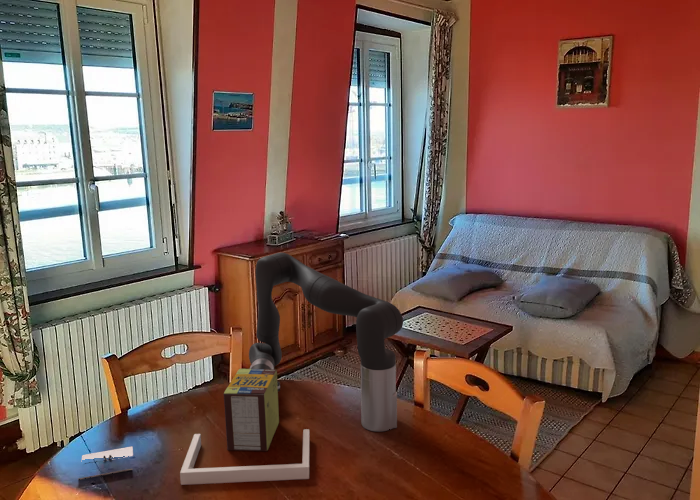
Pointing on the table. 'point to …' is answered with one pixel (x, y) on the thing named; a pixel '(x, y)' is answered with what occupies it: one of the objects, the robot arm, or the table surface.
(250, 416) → the protein box
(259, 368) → the robot arm
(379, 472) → the table surface
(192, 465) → the u-shaped bracket
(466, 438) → the table surface
